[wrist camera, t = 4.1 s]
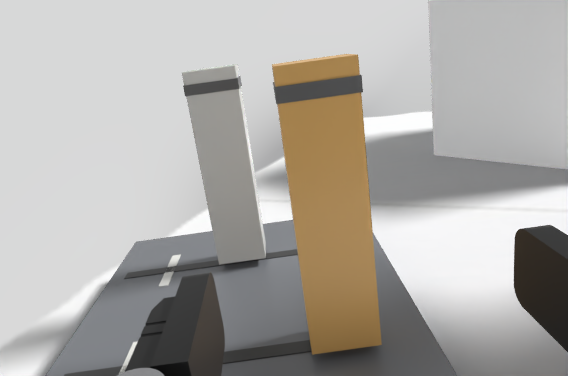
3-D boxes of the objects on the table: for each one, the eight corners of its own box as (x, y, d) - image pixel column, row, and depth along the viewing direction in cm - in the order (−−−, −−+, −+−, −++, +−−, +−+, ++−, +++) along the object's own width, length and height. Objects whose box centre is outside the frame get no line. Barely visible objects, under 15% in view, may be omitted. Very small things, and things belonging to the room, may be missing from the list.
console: (362, 244, 37) (359, 209, 36) (492, 504, 16) (493, 436, 15) (144, 275, 37) (135, 241, 36) (-17, 575, 16) (-48, 511, 15)
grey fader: (266, 241, 31) (238, 64, 28) (266, 258, 29) (235, 65, 25) (222, 247, 31) (188, 71, 28) (218, 265, 29) (180, 73, 25)
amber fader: (369, 311, 22) (346, 53, 18) (383, 345, 19) (359, 54, 16) (305, 320, 22) (270, 64, 18) (311, 355, 19) (271, 66, 16)
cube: (521, 120, 74) (525, -43, 67) (692, 126, 58) (722, -88, 51) (433, 158, 60) (426, -44, 53) (627, 180, 44) (656, -108, 36)
